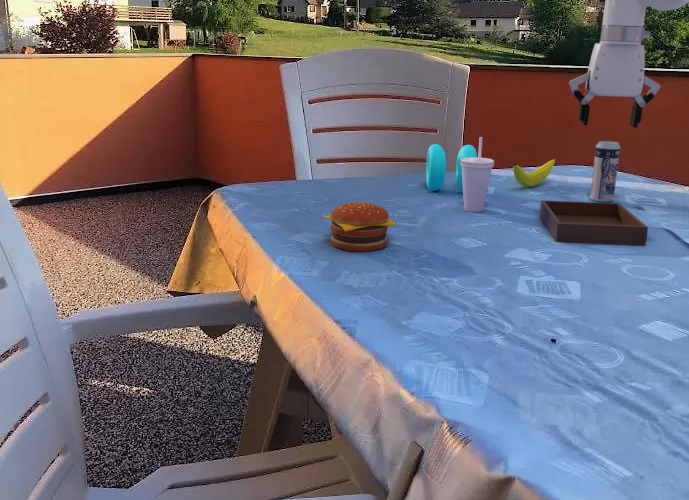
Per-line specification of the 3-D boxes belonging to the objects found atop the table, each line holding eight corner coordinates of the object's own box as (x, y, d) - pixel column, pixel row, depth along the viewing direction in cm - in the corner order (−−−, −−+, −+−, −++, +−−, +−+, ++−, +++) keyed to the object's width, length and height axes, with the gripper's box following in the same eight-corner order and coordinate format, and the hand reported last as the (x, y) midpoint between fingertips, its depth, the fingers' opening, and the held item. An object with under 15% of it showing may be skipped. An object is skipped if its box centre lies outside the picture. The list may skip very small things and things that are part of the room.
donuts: (424, 185, 158) (427, 140, 155) (469, 186, 158) (472, 141, 155) (428, 195, 149) (430, 147, 146) (476, 196, 148) (479, 148, 145)
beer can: (603, 203, 143) (611, 144, 140) (584, 199, 147) (591, 141, 144) (618, 201, 146) (626, 143, 142) (599, 196, 150) (606, 140, 146)
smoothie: (474, 215, 132) (479, 140, 128) (450, 208, 137) (454, 136, 133) (497, 210, 136) (503, 137, 132) (473, 204, 141) (478, 133, 137)
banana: (558, 181, 166) (561, 154, 164) (517, 192, 152) (520, 163, 150) (546, 179, 168) (549, 152, 166) (505, 190, 154) (508, 161, 152)
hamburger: (347, 255, 107) (347, 212, 105) (320, 239, 115) (320, 199, 113) (400, 248, 111) (401, 206, 109) (371, 233, 119) (371, 194, 117)
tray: (617, 219, 131) (619, 203, 130) (645, 245, 115) (648, 227, 114) (539, 216, 132) (540, 200, 131) (555, 241, 116) (557, 223, 115)
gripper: (661, 38, 140) (647, 125, 145) (571, 35, 141) (560, 121, 146) (673, 38, 133) (658, 130, 138) (579, 35, 134) (568, 125, 139)
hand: (608, 125), depth 142 cm, fingers open, 9 cm apart
